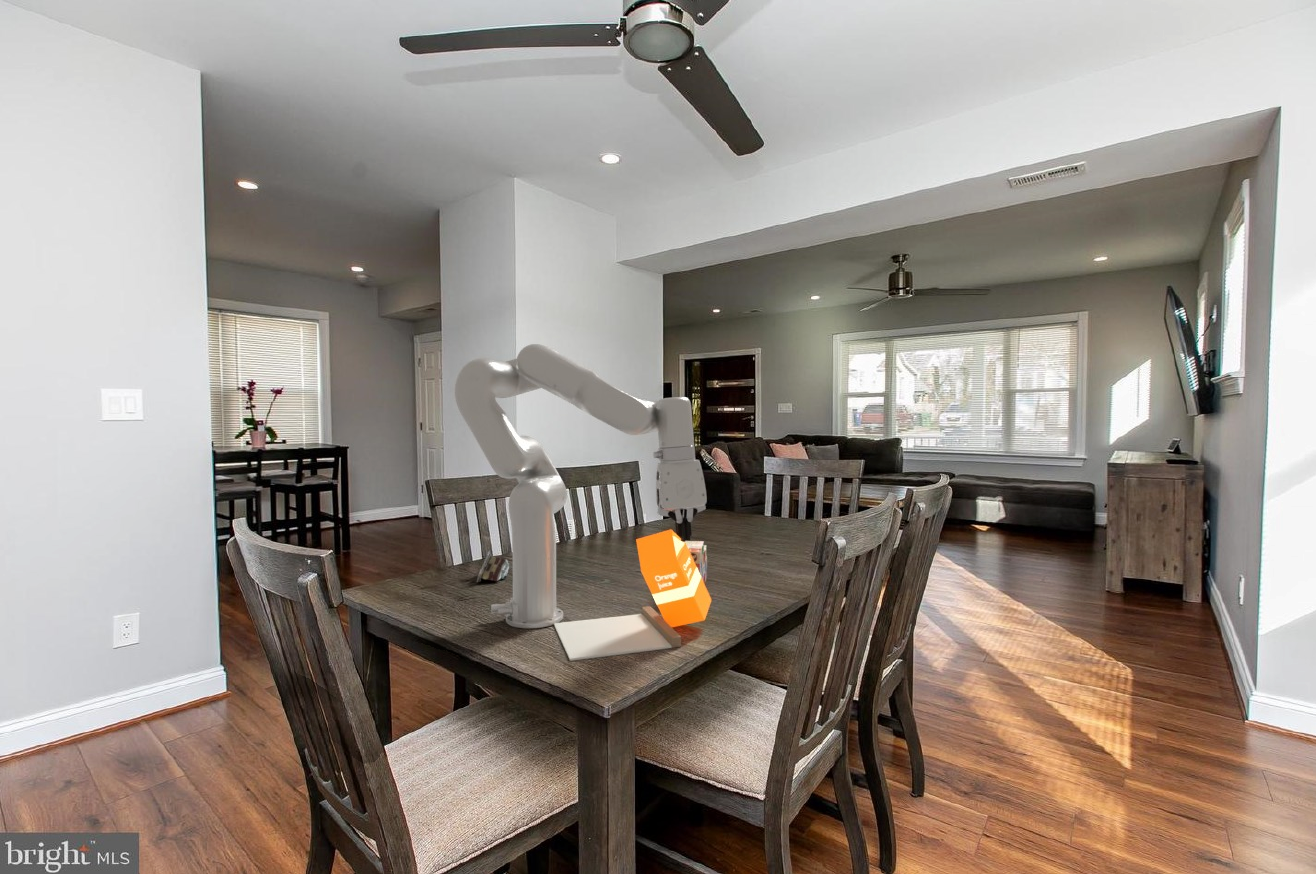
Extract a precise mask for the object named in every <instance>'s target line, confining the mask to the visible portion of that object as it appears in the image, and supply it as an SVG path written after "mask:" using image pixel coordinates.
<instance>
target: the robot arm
mask: <svg viewBox="0 0 1316 874" xmlns="http://www.w3.org/2000/svg"><path fill="white" fill-rule="evenodd" d="M539 389H543V390H545V391H547V392H549V393H550V394H553V395H555V397H556V396H557V397H558V398H560V399H561V400H564V401H565V402H568V403H569V404H572V405H573V406H575V407H576V408H577V409H579V410H581V411H584V412H585V413H586V414H588V415H590V416H592V417H594V418H596V419H597V420H599V421H601V422H602V423H605V424H606V425H608V426H611V427H613V428H614V429H616V430H618V431H620V432H621V433H624V434H627V435H629V436H639V435H646V434H649V433H654V432H657V435H658V438H657V439H658V449H657V451H654V452H653V455H652V456H653V458H654V459H659V463H657V467H656V477H655V478H656V480H655V495H656V497H655V498H656V504H657V506H658V507H657V512H656V513H657V515H658V516H661V517H668V518H670V519H671V520H672V521H673V523H674V525H675V526H674V527H675V534H677V535H678V536H679V537H680V538H681V541H682V542H685V541H691V537H692V535H693V534H692V525H691V524H692V522H693V519H694V518H695V516H696V515H697V513H700V512H703V511H705V510H706V509H707V508H706V507H707V506H706V504H707V502H708V501H707V500H708V499H707V498H708V497H707V489H706V483H705V477H704V472H703V469H702V464H701V462H700V459H696V451H695V450H696V449H695V437H694V425H693V424H694V423H693V415H692V414H693V413H692V403H691V400H690V399H689V397H686V396H675V397H665V398H661V399H659V400H647V399H645V400H644V399H638V398H636V397H634V396H632V395H630V394H629V393H626V392H625V391H623V390H621V389H619V388H617V387H615V386H613V385H611V384H610V383H608V382H606V381H605V380H603V379H602V378H601V377H600V376H598V374H597V373H596V372H594V371H593V370H591V369H590V368H589V367H586V366H585V365H583V364H580V363H578V362H576V361H574V360H572V359H570V358H568V357H566V356H564V355H562V354H561V353H559V351H557V350H556V349H553V348H552V347H548V346H545V345H542V344H538V343H533V344H528V345H526V346H524V347H523V348H522V349H521V350H520V351H519V352H518V354H517V357H516V358H513V359H510V360H507V361H500V360H498V359H491V358H486V357H482V358H481V357H480V358H476V359H472V360H470V361H469V362H467V363H466V364H465V365H464V366H463V367H462V369H461V370H460V371H459V373H458V375H457V377H456V380H455V385H454V398H455V403H456V407H457V408H458V410H459V412H460V415H461V416H462V418H463V420H464V422H465V423H466V425H467V426H468V427H469V430H470V431H471V433H472V435H473V437H474V438H475V440H476V442H477V444H478V445H479V447H480V449H481V451H482V453H483V455H484V457H485V458H486V460H487V461H488V463H489V465H490V467H491V469H492V470H493V472H494V473H495V474H496V475H497V476H498V477H500V478H503V479H508V480H511V479H516V480H517V482H518V484H517V485H515V487H513V489H512V490H511V493H510V495H509V499H508V512H509V513H508V514H509V519H510V525H511V527H510V528H511V539H512V540H511V541H512V542H511V545H512V547H511V548H512V549H511V550H512V551H511V552H512V597H510V600H509V601H506V602H505V603H501V604H500V603H495V604H494V603H493V604H491V614H497V616H504V615H505V623H506V624H507V625H508V626H511V627H514V628H517V629H518V628H519V629H540V628H541V629H542V628H545V627H546V628H547V627H550V626H554V624H555V623H561V621H562V620H563V619H564V611H563V610H562V609H560V608H559V607H557V541H556V540H557V537H556V535H557V534H556V529H555V528H556V527H555V523H554V522H555V521H554V514H556V513H558V512H559V511H560V510H561V509H563V507H564V506H565V504H566V502H567V496H568V492H567V487H566V485H565V482H564V480H563V479H562V477H561V475H560V473H559V472H558V470H557V468H556V467H555V465H554V463H553V461H552V460H551V458H550V457H549V455H548V453H547V452H546V450H545V448H544V447H543V446H542V444H541V443H540V442H538V440H536V439H535V438H533V437H532V436H528V435H520V434H519V433H518V430H516V429H515V427H514V425H513V423H512V422H511V420H510V418H509V417H508V416H509V415H507V413H506V412H505V411H504V409H503V408H502V407H501V406H500V404H499V403H498V401H497V400H496V398H498V399H507V398H511V397H516V396H519V395H522V394H525V393H529V392H532V391H536V390H539ZM681 510H682V513H681ZM679 537H678V538H679Z"/></svg>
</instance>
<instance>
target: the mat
mask: <svg viewBox="0 0 1316 874" xmlns="http://www.w3.org/2000/svg"><path fill="white" fill-rule="evenodd" d="M553 626H554V629H555V630H556V633H557V635H558V637H559V638H558V639H560V642H561V645H562V646H563V649H564V650H565V653H566V655H567V657H568V659H569V661H570V662H571V661H580V660H587V659H589V660H590V659H595V658H596V659H597V658H602V657H603V658H604V657H610V656H619V655H626V654H632V653H634V654H635V653H641V652H642V653H643V652H649V651H651V652H652V651H658V650H667V649H672V648H674V649H675V648H681V647H682V636H681V635H680V634H679V633H678V632H677V631H676V630H675V629H674V627H671V626H670V625H669V624H668V623H667V622H666V621H665V620H664V618H663V616H662V615H660V614H659V613H658V612H657V611H656V609H654V608H653V607H652V606H651V605H647V606H642V607H641V613H639V614H638V613H637V614H628V615H620V616H610V617H600V618H591V619H583V620H573V621H563V622H558V623H555V624H554V625H553Z"/></svg>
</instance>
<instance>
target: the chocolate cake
mask: <svg viewBox="0 0 1316 874" xmlns="http://www.w3.org/2000/svg"><path fill="white" fill-rule="evenodd" d="M483 561H484V562H483V564H482V566H481V568H480V570H479V573H478V576H477V578H476V583H478V582H482V580H487V581H494V582H498V581H500V580H501V579H503V580H505V579H506V578H507V575H508V573H509V569H510V563H509V560H508V559H506V558H501V557H499V556H494V555H492V554H491V553H490V549H488V552H487V555H486V557H485V559H484V560H483Z"/></svg>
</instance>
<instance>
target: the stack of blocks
mask: <svg viewBox="0 0 1316 874" xmlns="http://www.w3.org/2000/svg"><path fill="white" fill-rule="evenodd" d="M685 543H686V545H687V547H688V549H689V552H690V554H691V556H692V558H693V560H694V562H695V565H696V567H697V568H698V571H699V573H700V575H701V578H702V580H703V582H704V584H706V581H707V577H708V556H707V553H708V552H707V551H708V550H707V544H705V541H702V540H700V541H699V540H697V541H696V540H690V541H685Z"/></svg>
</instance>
